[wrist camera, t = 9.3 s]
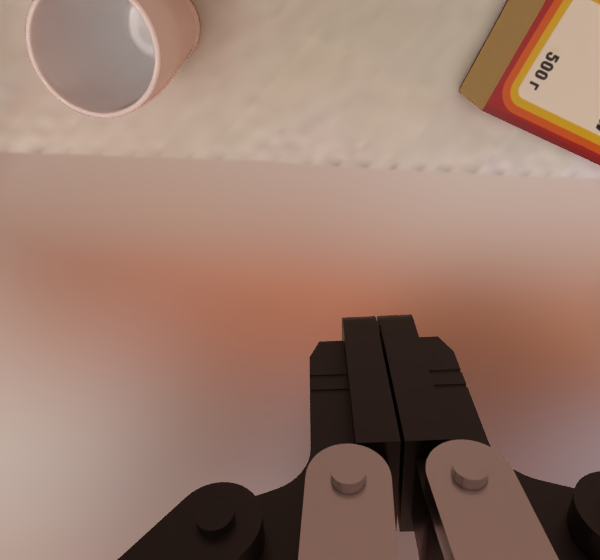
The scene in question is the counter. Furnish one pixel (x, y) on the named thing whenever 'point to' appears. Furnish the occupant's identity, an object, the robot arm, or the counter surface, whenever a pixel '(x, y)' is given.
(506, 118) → the baking soda box
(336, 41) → the counter surface
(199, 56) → the counter surface
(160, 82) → the pinkish beige cup
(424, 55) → the counter surface
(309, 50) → the counter surface
